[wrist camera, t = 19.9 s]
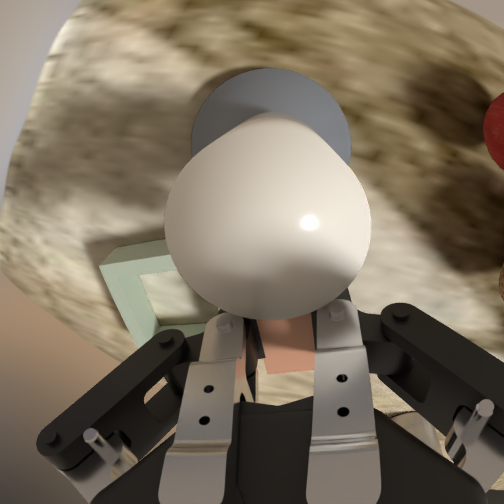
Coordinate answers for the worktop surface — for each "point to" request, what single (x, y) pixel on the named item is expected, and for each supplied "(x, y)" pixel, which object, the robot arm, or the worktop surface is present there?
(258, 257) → the jug
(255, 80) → the coaster
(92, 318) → the worktop surface
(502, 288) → the natural sponge
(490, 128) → the onion
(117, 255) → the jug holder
